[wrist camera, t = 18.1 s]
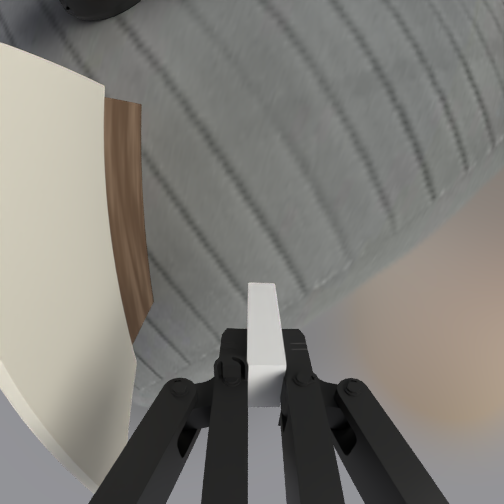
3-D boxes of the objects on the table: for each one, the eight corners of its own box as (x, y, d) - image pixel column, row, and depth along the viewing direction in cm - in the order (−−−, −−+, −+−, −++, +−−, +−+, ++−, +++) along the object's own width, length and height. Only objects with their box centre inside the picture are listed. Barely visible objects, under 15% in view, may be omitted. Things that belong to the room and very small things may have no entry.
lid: (91, 88, 18) (104, 86, 18) (126, 362, 29) (137, 362, 29) (-63, 44, 2) (-42, 29, 2) (109, 506, 13) (124, 508, 13)
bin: (141, 104, 29) (91, 95, 18) (153, 301, 39) (125, 358, 28) (39, 123, 29) (-21, 130, 18) (62, 292, 39) (23, 336, 28)
